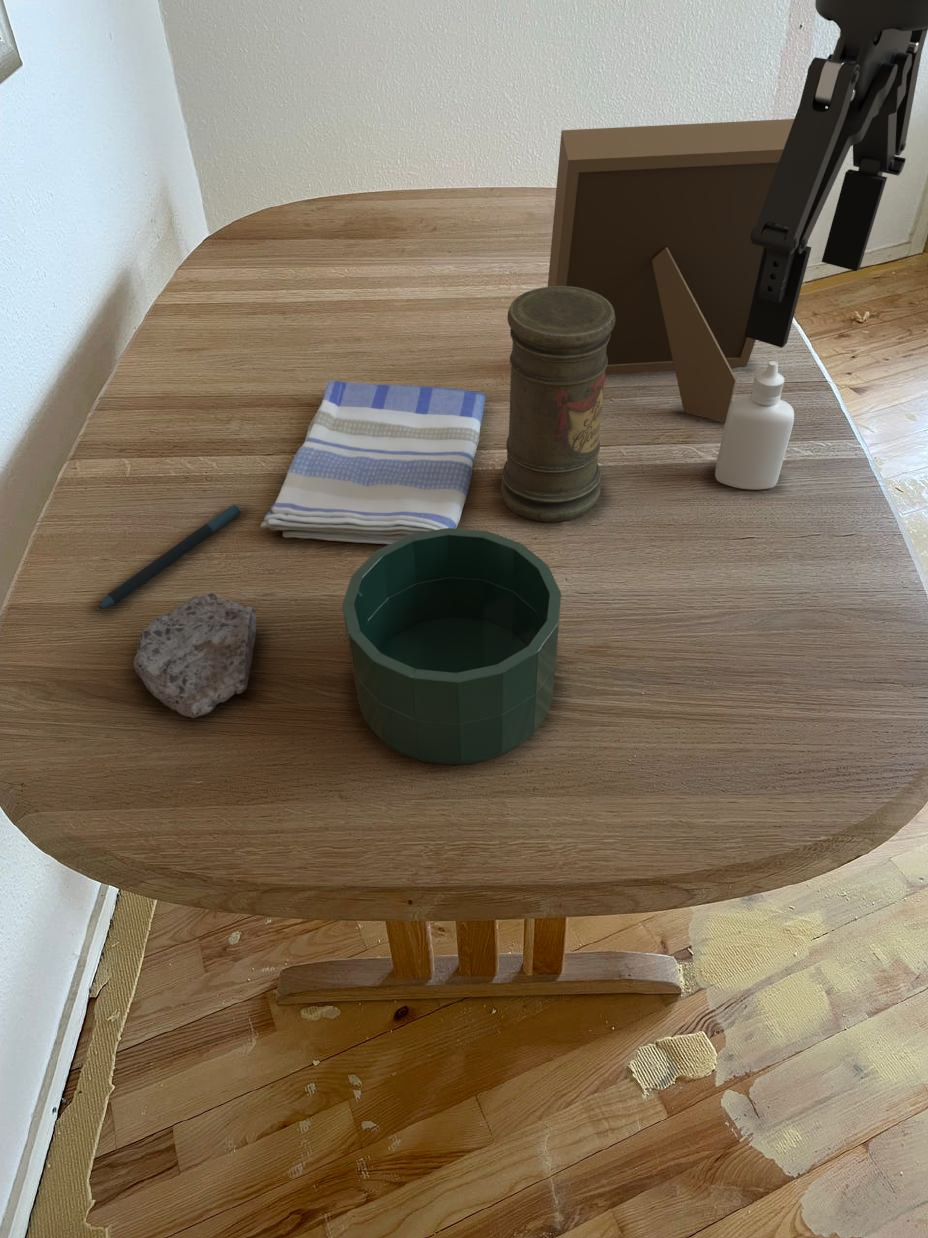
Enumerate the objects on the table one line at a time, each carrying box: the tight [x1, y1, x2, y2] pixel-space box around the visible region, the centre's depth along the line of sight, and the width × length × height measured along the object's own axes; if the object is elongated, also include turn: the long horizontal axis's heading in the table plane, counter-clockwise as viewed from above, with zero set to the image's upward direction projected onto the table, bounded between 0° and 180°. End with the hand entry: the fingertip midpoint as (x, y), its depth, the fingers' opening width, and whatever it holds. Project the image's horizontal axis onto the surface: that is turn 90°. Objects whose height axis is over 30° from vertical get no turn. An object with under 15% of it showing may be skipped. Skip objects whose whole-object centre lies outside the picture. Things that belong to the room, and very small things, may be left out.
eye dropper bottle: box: [714, 360, 795, 491], centre depth 80 cm, size 4×6×12 cm
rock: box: [133, 593, 257, 719], centre depth 68 cm, size 9×11×4 cm
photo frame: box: [547, 118, 795, 423], centre depth 87 cm, size 15×22×25 cm
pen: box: [96, 504, 241, 611], centre depth 78 cm, size 1×16×1 cm, turn 144°
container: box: [500, 286, 615, 523], centre depth 77 cm, size 9×9×18 cm
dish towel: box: [260, 380, 487, 545], centre depth 86 cm, size 17×24×3 cm
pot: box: [341, 528, 562, 766], centre depth 65 cm, size 15×15×9 cm
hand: (805, 300), depth 65 cm, fingers open, 13 cm apart
